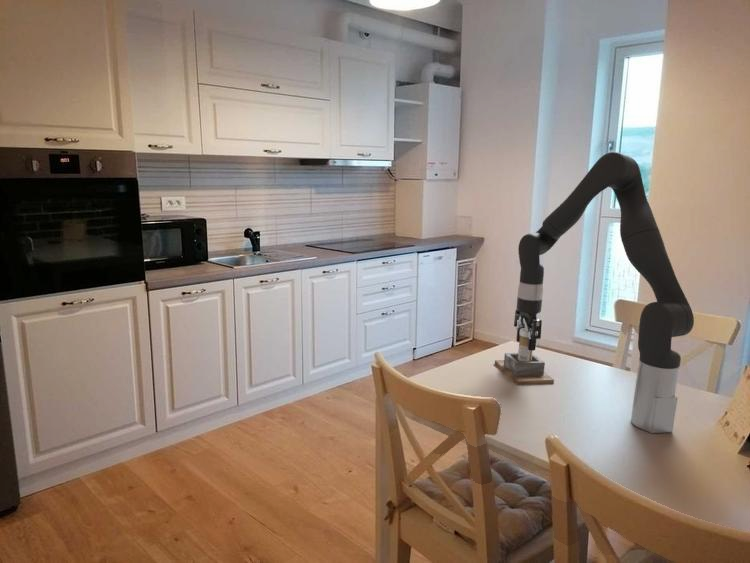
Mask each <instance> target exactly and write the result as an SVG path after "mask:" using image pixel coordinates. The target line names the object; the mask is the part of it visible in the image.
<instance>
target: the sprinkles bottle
mask: <svg viewBox="0 0 750 563" xmlns="http://www.w3.org/2000/svg"><path fill="white" fill-rule="evenodd" d="M531 335H532V332H531ZM528 341H529V336H528V333H527V332H526V329H525V328H522V329H520V341H519V342H518V352H517V353H518V362H531V361H532V353H533V351H530V350H528Z"/></svg>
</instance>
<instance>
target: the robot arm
mask: <svg viewBox="0 0 750 563" xmlns="http://www.w3.org/2000/svg"><path fill="white" fill-rule="evenodd" d="M607 188H611V189H612V191H613V194H614V195H615V197H616V199H617V200H616V201H617V203H618V206H619V209H620V220H619V222H620V224H619V234H620V235H619V236H620V238H621V243H622V246H623V249H624V252H625V255H626V256H627V259H628V261H629V262H630V264H631V265H632V267H634V269H635V270H636V271H637V272H638V273H639V274H640V275H641V277H643V279H645V280H646V282H647V283H648V284H649V286H650V288H651V290H652V291H653V294H654V297H655V301H652V302H649V303H647V304H646V305H645V306H644V308H642V311H641V313H640V316H639V317H640V318H639V324H638V325H639V327H638V337H637V338H638V339H637V350H638V352H639V358H638V366H637V374H636V379H635V387H634V395H633V401H632V402H633V403H632V409H631V410H632V411H631V418H630V422H631V424H632V425H633V426H635V427H636V428H638V429H640V430H644V431H646V432H648V433H650V434H659V433H660V434H661V433H662V434H663V433H672V432H673V430H674V423H675V417H676V411H677V405H678V397H677V396H676V392H677V391H676V390H677V386H678V385H677V384H678V378H679V373H680V372H679V371H680V367H681V360H682V359H681V358H682V357H681V354H680V353H679V352H677V351H675V350H673V349H672V338H675V337H682V336H687V335H688V334H689V333H690V332H691V331H692V330H693V328H694V323H695V320H694V318H695V316H694V312H693V311H692V307H691V305H690V303H689V301H688V299H687V297H686V295H685V293H684V291H683V289H682V287H681V284H680V283H679V280H678V279H677V276H676V274H675V271H674V270H675V269H673V266H672V262H671V260H670V257H669V255H668V253H667V249H666V247H665V242H664V240H663V237H662V235H661V232H660V229H659V226H658V224H657V222H656V219H655V217H654V213H653V211H652V208H651V206H650V203H649V200H648V199H647V195H646V190H645V187H644V180H643V177H642V173H641V169H640V166H639V164H638V162H637V161H636V160H635V159H634V158H633V157H630V156H629V155H626V154H624V153H621V152H618V151H608V152H606V153H604V154H603V155H602V156H601V157H599V158H598V160H596V162H595V163H594V164H593V165H592V167H591V168H590V170H589V171H587V173H586V174H585V175H584V177H583V179H581V181H580V182H579V183H578V184H577V186H576V187H575V188H574V189H573V191H572V192H571V193H570V194H569V195H568V196H567V197H566V198H565V200H564V201H562V202H561V203H560V204H559V205H558V206H557V207H556V208H555V209H554V210H553V211H552V212H551V213H550V214H549V215H548V216H547V217H546V218H544V220H543V221H542V225H541V227H540V228H539V229H538V230H537V231H535V232H532V233H527V234H525V235H523V236H522V237H521V238H520V240H519V243H518V259H519V265H520V272H519V273H520V274H519V283H518V287H517V297H516V299H517V300H516V309H515V311H514V312H515V313H514V321H513V326H514V328H515V330H516V338H515V339H516V342H517V343H519V341H520V329H522V328H525V329H526V332H527V333H528V336H529V341H528V350H530V351H532V352H534V351H536V347H537V346H536V345H537V340H541V337H542V324H543V320H542V319H538V318H537V314H540V313H541V312H542V308H543V307H542V306H543V297H544V274H545V271H544V270H545V268H544V266H543V265H542V264H540V263H541V262H540V260H541V259H540V256H542V255H544V254H546V253H547V252H548V251H550V250H551V249H552V247H553V246H555V244H557V242H558V240H559V239H560V238H561V237H562V236H563V235H565V234H566V233H567V232H568V231H569V230H570V229H571V228H572V227H574V226H575V225H576V224H577V223H578V222H579V220H580V219H581V217H582V216H583V215H584V213H585V211H586V209H587V208H588V206H589V204H590V203H591V202H592V201H593V199H595V197H596V196H597V195H599V194H600V193H602V192H603V191H604V190H606V189H607ZM531 332H532V335H531Z"/></svg>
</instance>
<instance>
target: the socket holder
mask: <svg viewBox="0 0 750 563" xmlns="http://www.w3.org/2000/svg"><path fill="white" fill-rule="evenodd" d="M545 364H546V363H545V361H544V360H542V359H541V358H539V357H538V356H537V355H535V354H534V353H533V352H532V361H531V362H518V352H507V353H504V358H503V360H502V359H499V360H498V359H497V360H494V365H495V366H496V367H498V368H499V370H501V371H502V372H503V373H504V374H505V375H506V376H507V377H508V378H509V379H510V380H511V381H512V382H514V384H516V385H517V386H518V385H519V386H521V385H543V383H549V384H554V383H555V379H554V378H553V377H551V375H549V374H548V373H547V372H545V367H546V366H545Z"/></svg>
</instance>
